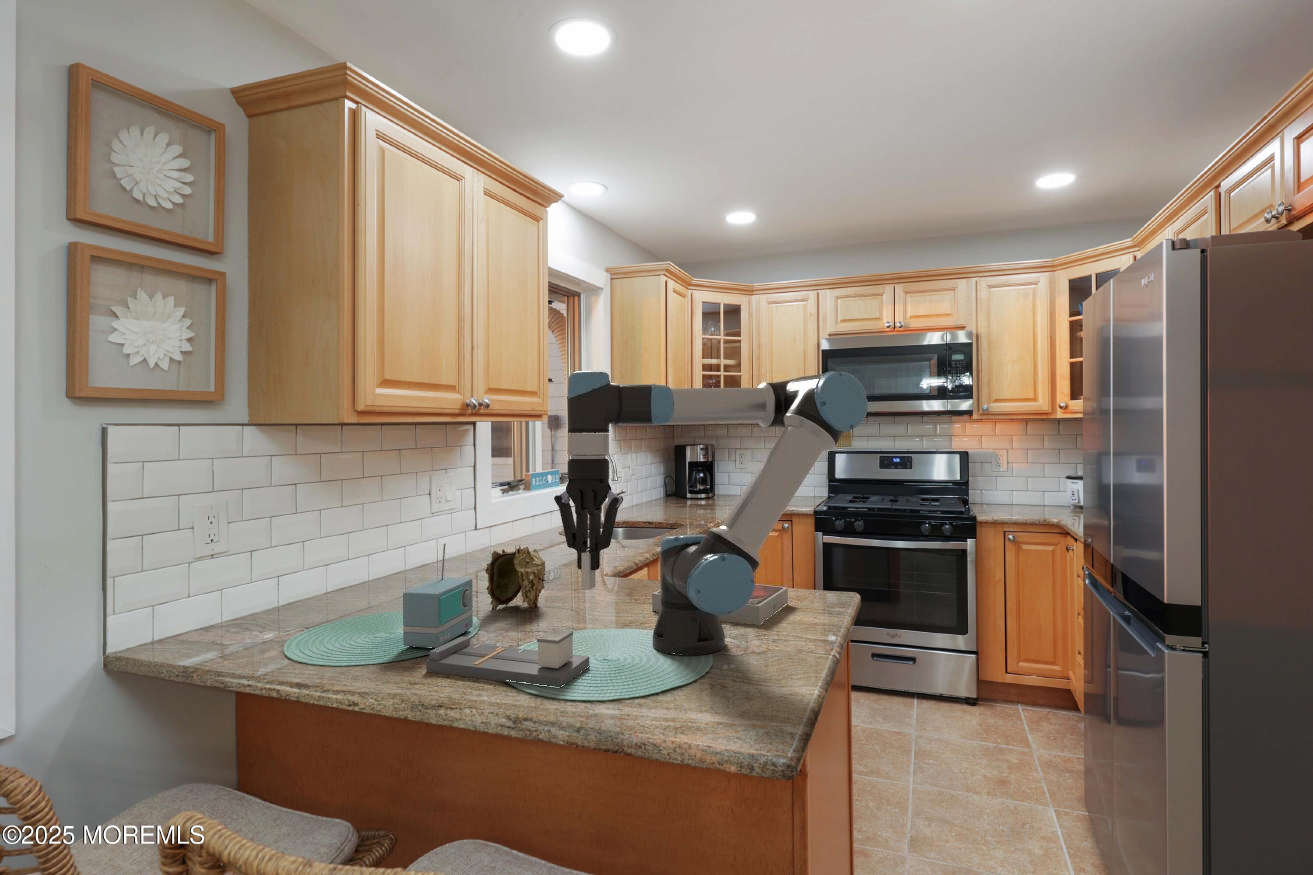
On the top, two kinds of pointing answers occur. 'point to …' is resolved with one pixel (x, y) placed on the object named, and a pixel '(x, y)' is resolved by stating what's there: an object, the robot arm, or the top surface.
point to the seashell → (515, 576)
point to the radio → (437, 611)
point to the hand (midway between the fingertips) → (588, 587)
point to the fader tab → (555, 648)
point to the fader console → (500, 663)
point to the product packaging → (749, 604)
